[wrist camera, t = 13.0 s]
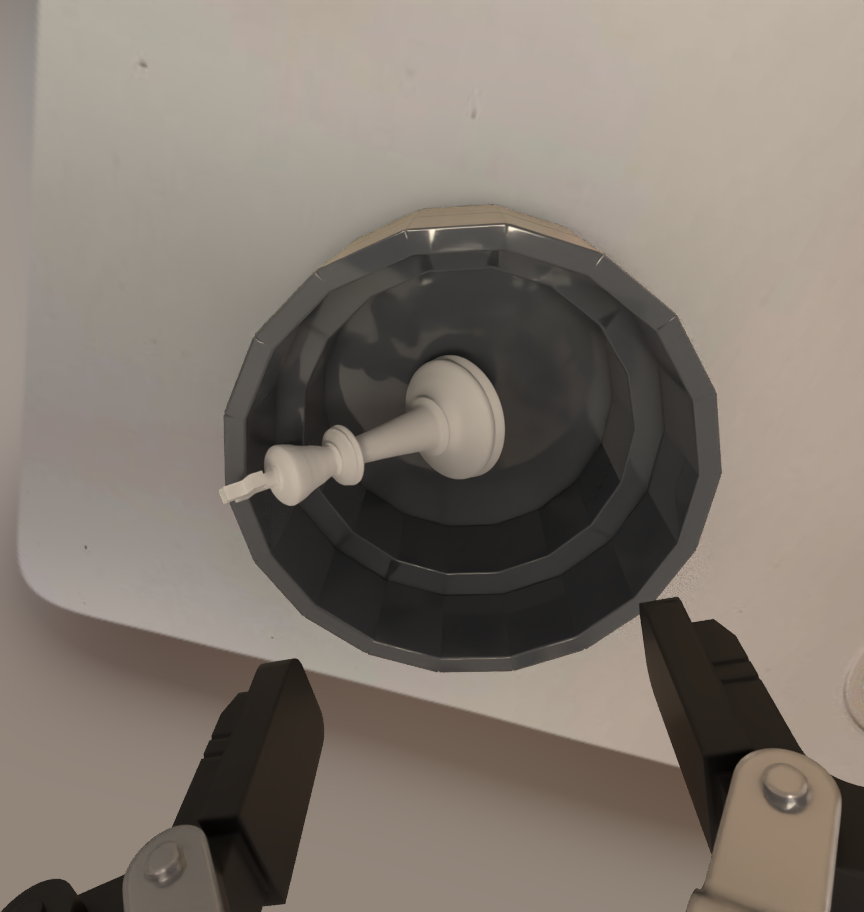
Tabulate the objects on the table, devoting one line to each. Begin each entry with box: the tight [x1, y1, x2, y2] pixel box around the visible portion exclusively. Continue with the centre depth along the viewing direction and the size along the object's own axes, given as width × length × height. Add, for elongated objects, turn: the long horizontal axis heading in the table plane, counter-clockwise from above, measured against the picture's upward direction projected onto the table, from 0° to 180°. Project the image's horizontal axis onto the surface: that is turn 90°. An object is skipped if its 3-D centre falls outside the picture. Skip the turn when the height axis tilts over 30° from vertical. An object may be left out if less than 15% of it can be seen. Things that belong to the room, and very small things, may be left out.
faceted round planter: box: [224, 205, 722, 672], centre depth 24 cm, size 15×16×8 cm
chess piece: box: [218, 355, 505, 506], centre depth 23 cm, size 5×5×10 cm
